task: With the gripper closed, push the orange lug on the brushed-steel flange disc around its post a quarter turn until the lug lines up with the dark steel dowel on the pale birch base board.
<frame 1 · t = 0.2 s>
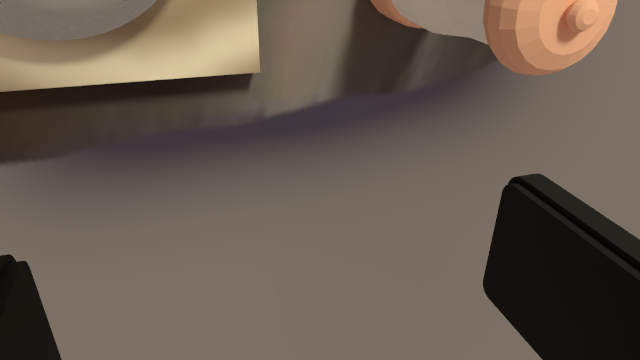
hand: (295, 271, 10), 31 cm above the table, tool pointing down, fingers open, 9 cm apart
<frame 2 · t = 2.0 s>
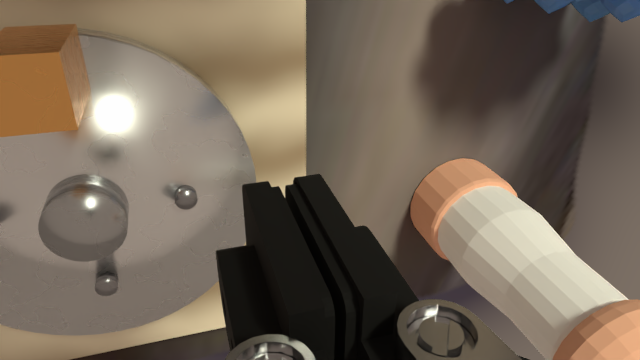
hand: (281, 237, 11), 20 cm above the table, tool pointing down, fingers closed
base board: (95, 173, 29), on the table
flange: (83, 222, 24), point 6 cm above the table, hinge at 0.0°
pepper shaker: (450, 198, 39), on the table
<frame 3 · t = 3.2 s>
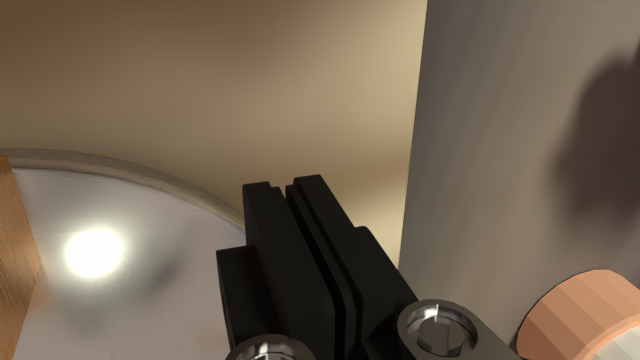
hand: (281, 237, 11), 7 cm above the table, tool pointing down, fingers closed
base board: (65, 340, 18), on the table
pepper shaker: (569, 318, 28), on the table
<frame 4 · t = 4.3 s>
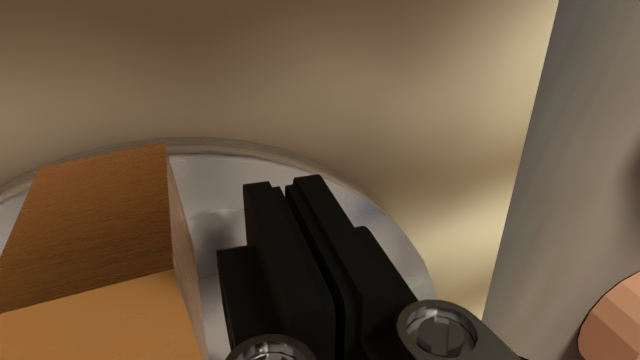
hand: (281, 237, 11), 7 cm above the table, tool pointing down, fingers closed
base board: (185, 323, 19), on the table
pepper shaker: (626, 314, 29), on the table
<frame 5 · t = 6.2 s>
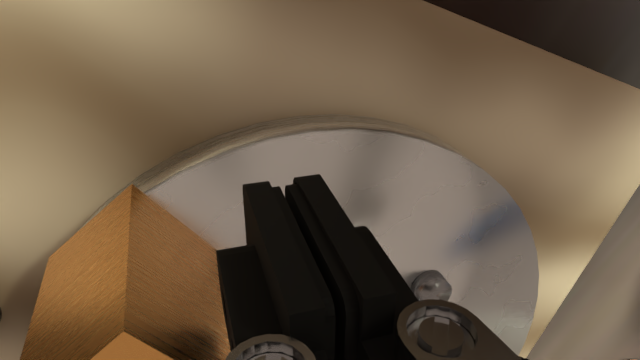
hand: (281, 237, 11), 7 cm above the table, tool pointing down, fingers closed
base board: (287, 299, 20), on the table
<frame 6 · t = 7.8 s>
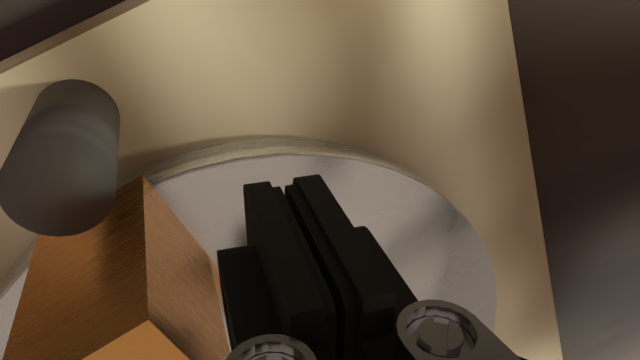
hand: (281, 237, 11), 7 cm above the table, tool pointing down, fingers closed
base board: (247, 316, 20), on the table
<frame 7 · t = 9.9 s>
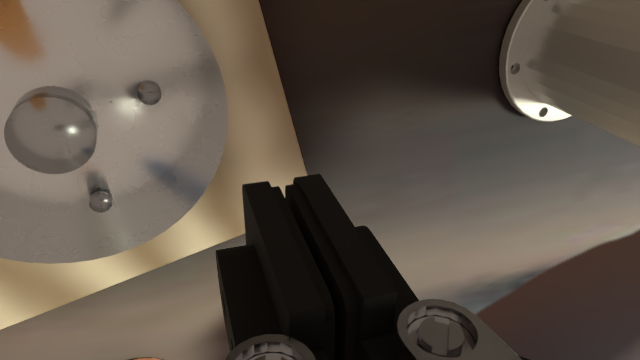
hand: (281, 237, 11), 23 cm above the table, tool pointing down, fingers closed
base board: (64, 98, 29), on the table
flange: (50, 132, 24), point 6 cm above the table, hinge at 90.9°
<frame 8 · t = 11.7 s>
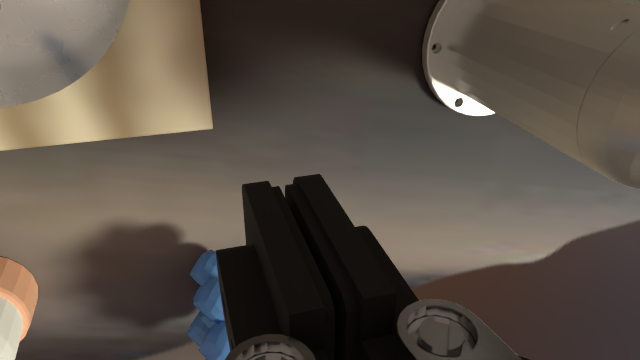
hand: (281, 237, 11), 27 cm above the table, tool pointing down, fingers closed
grapes: (220, 278, 45), on the table
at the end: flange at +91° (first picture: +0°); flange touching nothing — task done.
